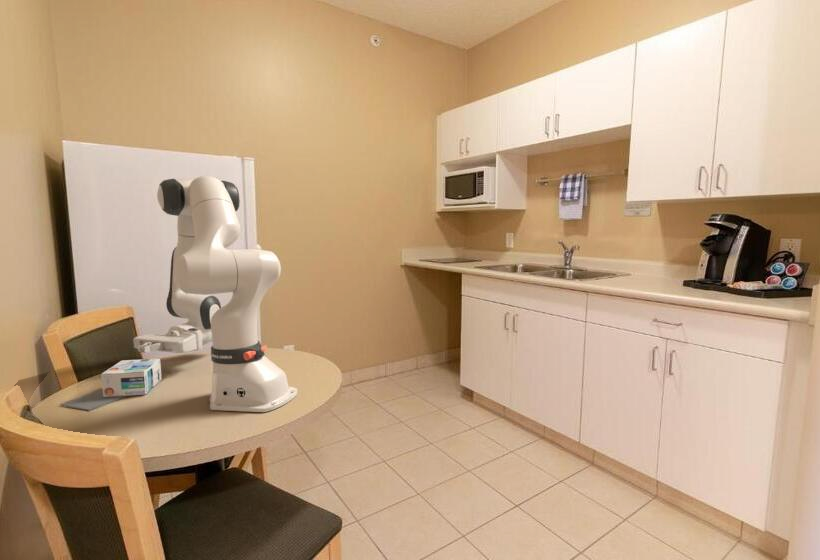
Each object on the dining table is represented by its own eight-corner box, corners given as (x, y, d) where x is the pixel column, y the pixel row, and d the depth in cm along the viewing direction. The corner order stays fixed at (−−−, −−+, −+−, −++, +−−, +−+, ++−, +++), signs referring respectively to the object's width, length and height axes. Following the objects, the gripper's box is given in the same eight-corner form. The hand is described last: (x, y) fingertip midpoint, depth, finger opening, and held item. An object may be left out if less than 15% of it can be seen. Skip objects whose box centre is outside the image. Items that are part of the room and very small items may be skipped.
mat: (142, 390, 113) (142, 388, 113) (89, 411, 100) (89, 409, 100) (114, 385, 117) (114, 384, 117) (59, 405, 104) (59, 404, 104)
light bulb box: (160, 357, 119) (144, 370, 108) (162, 379, 120) (146, 394, 109) (119, 360, 116) (99, 373, 106) (122, 382, 117) (102, 398, 107)
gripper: (156, 326, 135) (115, 337, 122) (204, 330, 129) (166, 341, 116) (158, 345, 136) (117, 357, 123) (206, 349, 130) (168, 363, 117)
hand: (141, 349), depth 119 cm, fingers closed
